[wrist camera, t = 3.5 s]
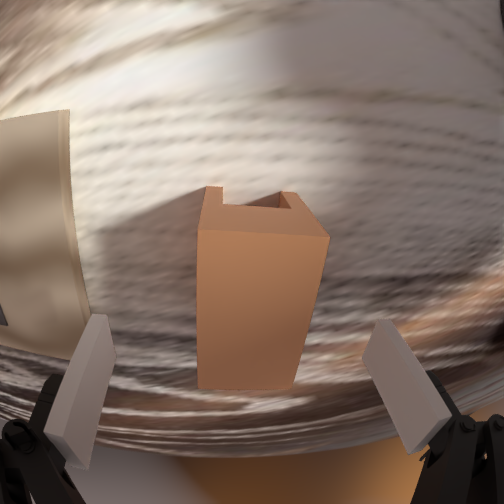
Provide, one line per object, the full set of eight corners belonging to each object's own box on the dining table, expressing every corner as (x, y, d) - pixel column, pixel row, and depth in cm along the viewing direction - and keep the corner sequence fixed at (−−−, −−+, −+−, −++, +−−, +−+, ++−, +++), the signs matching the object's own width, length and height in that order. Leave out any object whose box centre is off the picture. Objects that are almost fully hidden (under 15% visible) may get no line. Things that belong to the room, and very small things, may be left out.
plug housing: (206, 185, 19) (197, 229, 12) (296, 192, 19) (330, 237, 13) (202, 316, 23) (197, 388, 17) (275, 319, 24) (291, 388, 17)
